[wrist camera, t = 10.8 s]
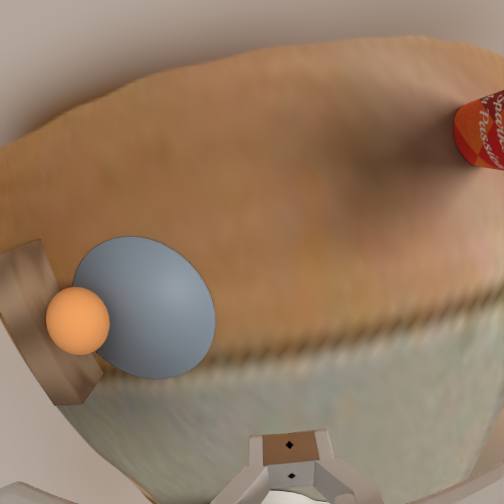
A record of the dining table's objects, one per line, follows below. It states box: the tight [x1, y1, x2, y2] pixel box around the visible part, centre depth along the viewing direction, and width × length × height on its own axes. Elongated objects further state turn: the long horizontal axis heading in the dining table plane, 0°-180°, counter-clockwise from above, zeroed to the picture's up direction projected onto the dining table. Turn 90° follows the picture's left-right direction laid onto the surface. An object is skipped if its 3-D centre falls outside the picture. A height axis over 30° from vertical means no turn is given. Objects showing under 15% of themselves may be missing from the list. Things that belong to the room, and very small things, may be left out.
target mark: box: [73, 236, 216, 379], centre depth 24 cm, size 13×13×1 cm
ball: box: [46, 287, 110, 355], centre depth 21 cm, size 6×6×6 cm
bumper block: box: [0, 239, 104, 406], centre depth 22 cm, size 14×4×5 cm, turn 18°
